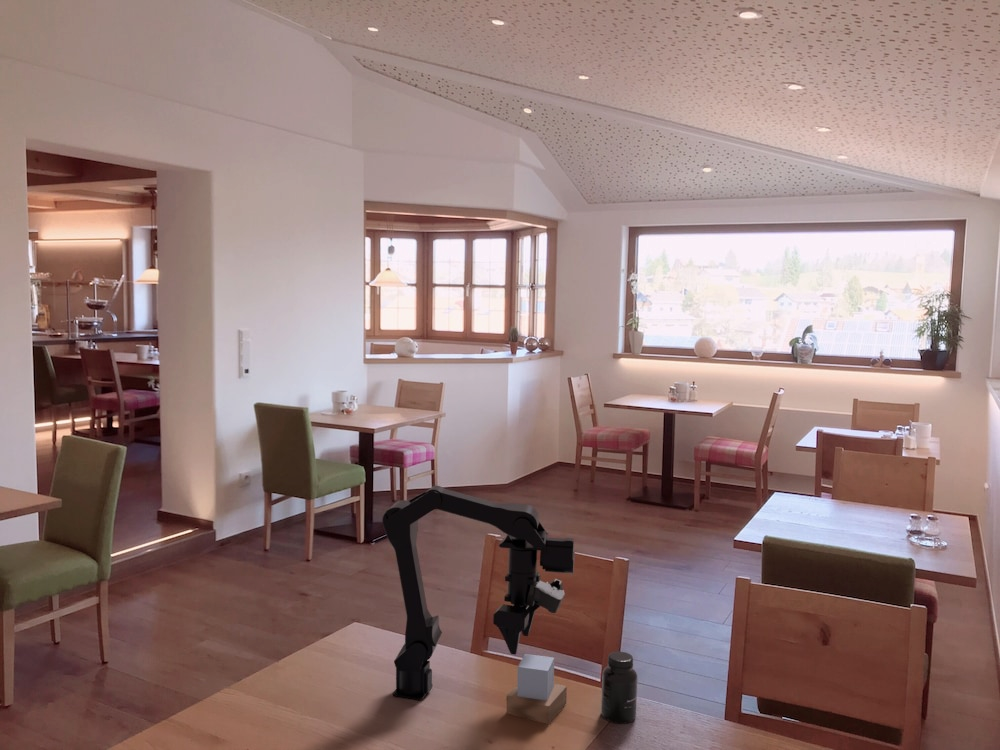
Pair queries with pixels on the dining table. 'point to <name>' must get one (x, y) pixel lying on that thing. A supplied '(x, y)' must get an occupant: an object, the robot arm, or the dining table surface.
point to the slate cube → (535, 677)
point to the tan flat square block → (537, 705)
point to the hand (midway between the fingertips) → (519, 644)
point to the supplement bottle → (619, 688)
